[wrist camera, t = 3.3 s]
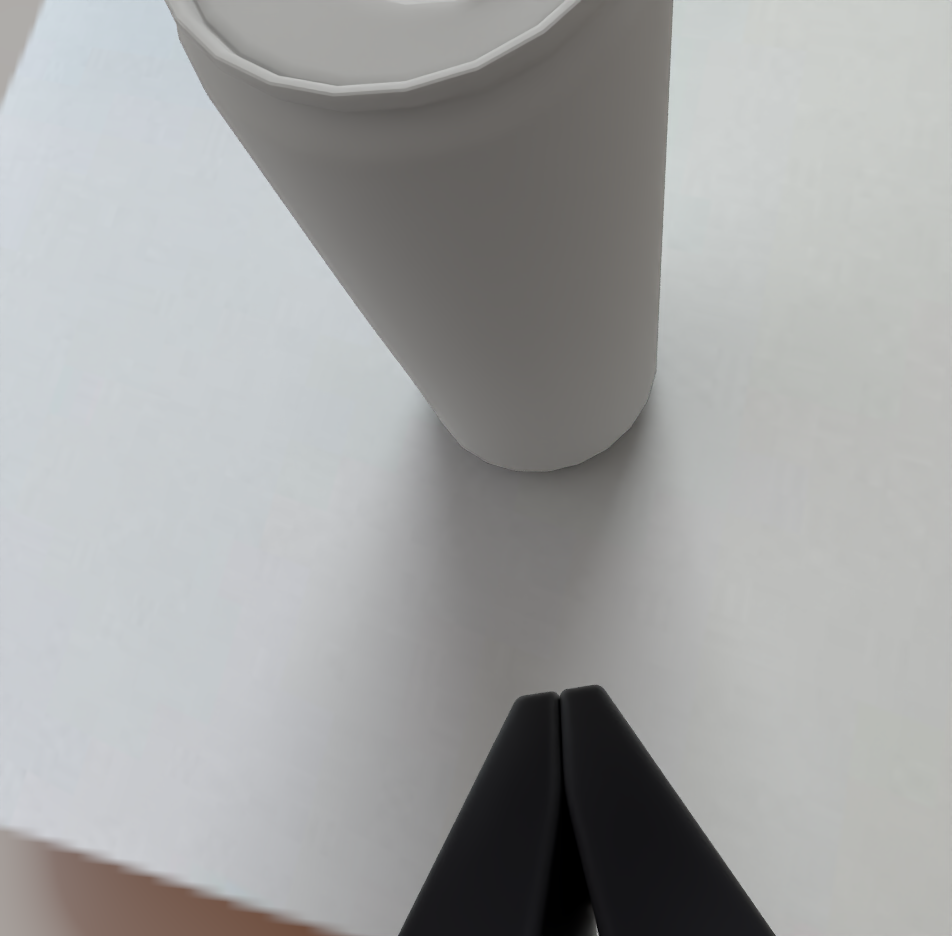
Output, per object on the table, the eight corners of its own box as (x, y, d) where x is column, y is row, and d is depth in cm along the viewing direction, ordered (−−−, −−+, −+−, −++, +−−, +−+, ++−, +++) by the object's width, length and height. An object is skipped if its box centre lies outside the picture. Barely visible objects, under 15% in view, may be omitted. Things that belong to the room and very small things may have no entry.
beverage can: (555, 527, 18) (413, 221, 7) (384, 389, 20) (27, -55, 8) (704, 347, 19) (806, -227, 7) (526, 226, 20) (375, -414, 9)
